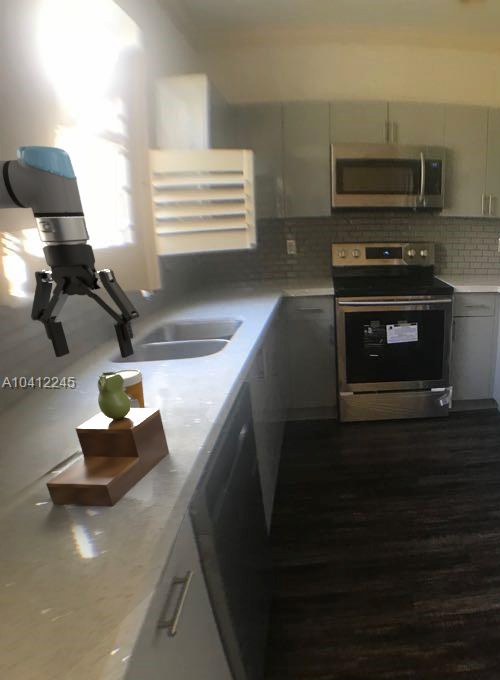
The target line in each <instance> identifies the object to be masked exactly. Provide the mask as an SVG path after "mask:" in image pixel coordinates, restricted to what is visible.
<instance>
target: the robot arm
mask: <svg viewBox="0 0 500 680" xmlns="http://www.w3.org/2000/svg"><path fill="white" fill-rule="evenodd" d="M15 151H16V159H13V160H0V210H2V209H3V210H4V209H5V210H6V209H31V211H32V215H33V218H34V221H35V225H36V229H37V232H38V236H39V239H40V241H41V242H42V243H45V244H44V245H43V247H42V251H43V255H44V258H45V263H46V265H47V266H48V267H50V269H44V270H43V269H42V270H36V271H35V272H34V277H35V282H36V283H35V284H36V285H35V289H34V295H33V301H32V308H31V313H30V319H31V320H32V321H38V322H40V323H42V324H43V326H44V330H45V333H46V336H47V339H48V340H50V341H51V344H52V348H53V351H54V355H55V357H56V358H61V357H64V356H66V355H68V354H70V349H69V345H68V341H67V338H66V334H65V331H64V326H63V324H62V323H63V322H62V321H61V320H60V321H59V318H58V317H59V315H60V313H61V311H62V310H63V308H64V306H65V304H66V301H67V300H68V298H69V297H70V296H76V295H77V296H87V297H88V298H91V299H93V300H94V301H95V302H96V303H97V304H98V305H99V306H100V307H101V308H102V310H104V311H105V312H106V313H107V314H108V315H110V316H111V318H113V320H114V321H116V323H115V324H113V326H114V329H115V334H116V339H117V343H118V348H119V352H120V356H121V358H122V359H125V358H128V357H131V356H132V355H134V354H135V353H134V348H133V344H132V339H134V332H133V328H132V321H133V320H136V319H138V318H140V313H139V312H138V310H137V309H136V308H135V306H134V304H133V303H132V302H131V299H129V297H128V296H127V294H126V293H125V292H124V290H123V289H122V287H121V285H120V284H119V283H118V281H117V279H116V276H115V272H114V271H113V269H111V268H108V269H103V270H99V271H98V270H97V269H96V267H95V263H96V257H95V254H94V250H93V249H94V248H93V245H92V244H91V243H89V242H88V241H89V240H90V239H91V236H90V232H89V228H88V224H87V220H86V217H85V213H84V209H83V208H84V207H83V204H82V200H81V193H80V190H79V186H78V181H77V180H78V178H77V175H76V174H75V170H74V167H73V164H72V161H71V157H70V154H69V153H68V152H66V150H64V149H62V148H59V147H54V146H46V145H45V146H44V145H27V146H25V145H24V146H23V145H21V146H18V147H17V148H16V150H15ZM98 282H99V283H98ZM53 283H55V284H56V285H55V287H54V288H53ZM100 283H101V284H100ZM52 289H53V291H52ZM51 295H52V296H51Z"/></svg>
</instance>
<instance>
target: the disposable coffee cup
mask: <svg viewBox="0 0 500 680" xmlns="http://www.w3.org/2000/svg"><path fill="white" fill-rule="evenodd" d="M113 372H114V373H116V374H119V375H120V376H122V378H123V379H124V383H123V386H122V388H124V387H125V388H126V392H127V393H128V394H130V395H131V396H132V397H133V398H134V399H135V400H136V399H138V402H139V405H140V408H146V407H145V406H146V405H145V396H144V395H145V394H144V386H143V379H144V374H143V373H142V372H141V370H140V369H136V368H126V369H125V368H124V369H119V370H114V371H113Z"/></svg>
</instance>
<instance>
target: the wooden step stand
mask: <svg viewBox="0 0 500 680" xmlns="http://www.w3.org/2000/svg"><path fill="white" fill-rule="evenodd" d="M74 430H75V433H76V435H77V436H76V437H77V438H78V442H79V445H80V448H81V452H82V455H83V456H82V457H81V458H79V459H77V460H76V461H75V462H74V463H72V464H70V465H69V466H68V467H67V468H65V469H63V470H62V471H61V472H60V473H58V474H57V475H55V476H54V477H53V478H52V479H50V480H49V481H47V482H46V483H45V485H46V488H47V490H48V493H49V496H50V499H51V503H52V505H53V506H54V505H55V506H56V505H58V506H59V505H60V506H93V507H114V506H115V505H116V504H117V503H118V502H119V501H120V500H121V499H122V498H123V497H125V495H127V493H129V492H130V491H131V490H132V489H133V488H134V487H135V486H136V485H137V484H138V483H139V482H140V481H141V480H142V479H143V478H144V477H146V475H148V474H149V473H150V472H151V471H152V470H153V469H154V468H155V467H156V466H157V465H158V464H159V463H160V462H162V461H163V459H165V458H166V456H167V455H169V454H170V450H169V445H168V442H167V436H166V433H165V429H164V424H163V420H162V415H161V410H160V408H148V407H147V408H146V407H145V408H131V410H130V412H129V413H128V415H127V416H125V417H123V418H121V419H110V418H107V417H106V416H105V415H104V414H103V413H102V411H101V412H99V413H97V414H96V415H94V416H93V417H91V418H90V419H88V420H87V421H85V422H83V423H82V424H80V425H78V426H77V427H75V429H74Z"/></svg>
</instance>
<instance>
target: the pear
mask: <svg viewBox="0 0 500 680" xmlns="http://www.w3.org/2000/svg"><path fill="white" fill-rule="evenodd" d="M114 372H115V371H107V372H102V374H101V375H99V378H98V380H97V388H98V392H99V393H98V398H97V402H98V407H99V410H100V411H101V412H102V413H103V414H104V415H105V416H106V417H107V418H110V419H121V418H123V417H125V416H127V415H128V413H129V412H130V410H131V403H130V400H129V398H128V396H127V394H126V393H125V391H124V390H123V388H122V386H123V383H124V379H123V378H122V376H120V375H119V374H116V373H114Z"/></svg>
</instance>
